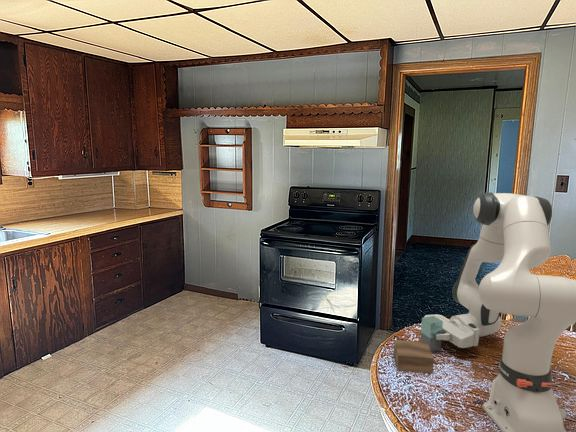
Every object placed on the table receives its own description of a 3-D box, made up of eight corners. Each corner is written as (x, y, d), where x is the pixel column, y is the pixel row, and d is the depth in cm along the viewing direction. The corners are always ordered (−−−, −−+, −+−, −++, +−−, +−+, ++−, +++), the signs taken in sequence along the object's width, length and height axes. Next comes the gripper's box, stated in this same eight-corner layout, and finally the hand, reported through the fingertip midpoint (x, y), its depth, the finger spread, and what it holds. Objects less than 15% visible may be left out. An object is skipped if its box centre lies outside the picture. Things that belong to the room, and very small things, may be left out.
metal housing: (440, 350, 144) (443, 321, 142) (429, 352, 142) (431, 323, 140) (431, 344, 149) (433, 315, 147) (420, 346, 147) (422, 317, 145)
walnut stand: (432, 373, 130) (433, 358, 129) (397, 370, 131) (398, 356, 130) (426, 355, 140) (427, 342, 140) (393, 353, 142) (394, 339, 141)
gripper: (441, 308, 158) (411, 313, 153) (482, 331, 139) (450, 337, 134) (440, 323, 159) (410, 328, 154) (481, 348, 140) (448, 354, 135)
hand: (429, 332), depth 144 cm, fingers closed on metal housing, 5 cm apart
